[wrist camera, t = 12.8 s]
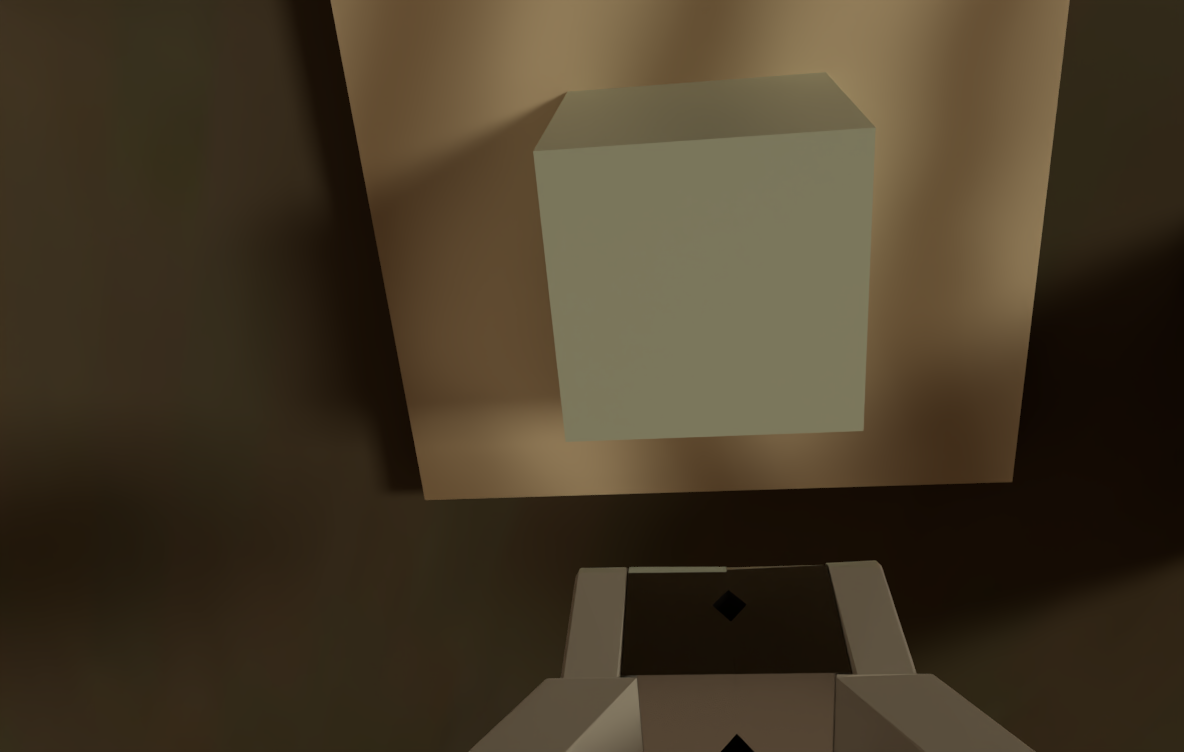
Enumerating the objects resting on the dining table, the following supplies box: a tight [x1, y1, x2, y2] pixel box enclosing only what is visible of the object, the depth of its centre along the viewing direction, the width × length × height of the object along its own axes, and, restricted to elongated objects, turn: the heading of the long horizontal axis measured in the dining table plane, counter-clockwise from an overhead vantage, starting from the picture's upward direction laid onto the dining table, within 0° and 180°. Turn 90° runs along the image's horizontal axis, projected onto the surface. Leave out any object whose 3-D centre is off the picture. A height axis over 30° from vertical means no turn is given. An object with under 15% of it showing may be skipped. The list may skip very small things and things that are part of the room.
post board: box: [331, 0, 1070, 500], centre depth 22 cm, size 16×16×6 cm
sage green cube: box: [533, 72, 876, 442], centre depth 20 cm, size 6×6×6 cm
